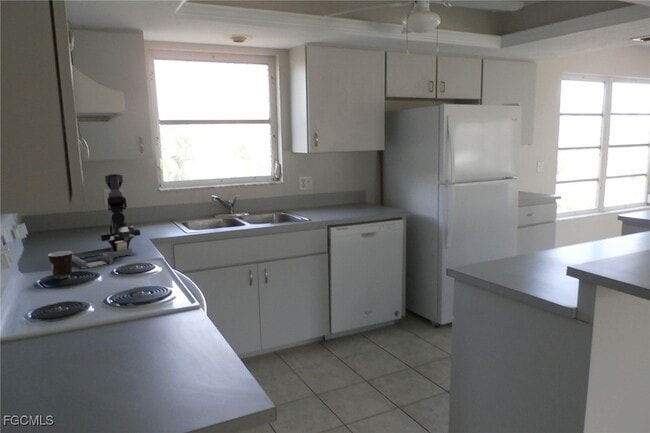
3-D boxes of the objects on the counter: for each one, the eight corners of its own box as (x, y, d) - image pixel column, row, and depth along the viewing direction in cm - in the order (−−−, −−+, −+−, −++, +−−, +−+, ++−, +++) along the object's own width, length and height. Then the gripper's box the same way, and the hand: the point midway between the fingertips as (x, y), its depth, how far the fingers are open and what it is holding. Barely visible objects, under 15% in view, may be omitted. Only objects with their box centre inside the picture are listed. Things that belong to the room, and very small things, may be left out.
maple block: (114, 254, 232) (113, 242, 231) (124, 252, 235) (122, 240, 234) (118, 255, 229) (117, 243, 228) (127, 253, 232) (126, 241, 231)
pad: (83, 264, 212) (83, 264, 212) (102, 261, 218) (102, 260, 218) (89, 267, 207) (88, 266, 207) (107, 264, 213) (107, 263, 213)
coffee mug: (53, 275, 196) (50, 252, 195) (76, 273, 199) (73, 250, 198) (47, 283, 186) (44, 258, 184) (72, 280, 189) (69, 256, 187)
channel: (68, 260, 221) (67, 254, 221) (122, 250, 239) (121, 244, 238) (84, 269, 206) (83, 262, 205) (140, 258, 223) (140, 251, 222)
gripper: (104, 225, 217) (107, 258, 220) (143, 219, 230) (146, 250, 233) (95, 222, 225) (99, 254, 228) (134, 217, 238) (137, 247, 241)
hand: (121, 251), depth 232 cm, fingers open, 5 cm apart
